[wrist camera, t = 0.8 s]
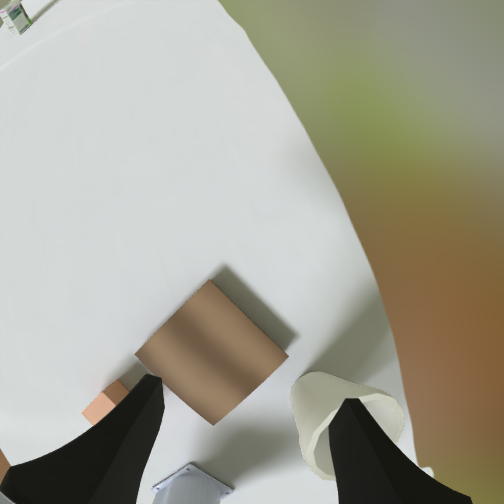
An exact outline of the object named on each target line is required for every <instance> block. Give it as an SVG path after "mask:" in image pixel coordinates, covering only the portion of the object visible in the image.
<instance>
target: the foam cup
mask: <svg viewBox="0 0 504 504" xmlns="http://www.w3.org/2000/svg"><path fill="white" fill-rule="evenodd" d="M289 398H290V402H291V407H292V411H293V414H294V418H295V422H296V425H297V429H298V433H299V436H300V438H299V443H300V447H301V451H302V456H303V458H304V460H305V462H306V463H307V465H308V467H309V469H310V470H311V471H312V472H314V473H315V474H316V475H318V476H319V477H320V478H322V479H324V480H334V481H336V477H335V472H334V467H333V462H332V457H331V452H330V446H329V429H328V425H329V424H330V422H331V421H332V419H333V418H334V416H335V414H336V413H337V411H338V410H339V408H340V406H341V405H342V403H343V401H344V400H345V398H359V399H360V401H361V402H362V403H363V404H364V406H365V407H366V408H367V410H368V411H369V412H370V414H371V415H372V416H373V418H374V419H375V420H376V422H377V423H378V424H379V426H380V427H381V428H382V429H383V431H384V432H385V433H386V434H387V436H388V437H389V438H390V439H391V440H392V441H393V443H394V444H395V445H397V442H398V440H399V438H400V435H401V433H402V430H403V428H404V418H403V409H402V408H401V406H400V405H399V404H398V402H397V401H396V400H395V398H394V397H392V396H390V395H388V394H387V393H385V392H383V391H381V390H379V389H375V388H372V387H369V386H366V385H362V386H361V385H358V384H355V383H352V382H349V381H347V380H344V379H341V378H338V377H336V376H333V375H330V374H327V373H325V372H322V371H316V372H309V373H307V374H305V375H303V376H302V377H300V378H299V379H298V380H297V381H296V382H295V384H294V385H293V386H292V388H291V392H290V396H289Z"/></svg>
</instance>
